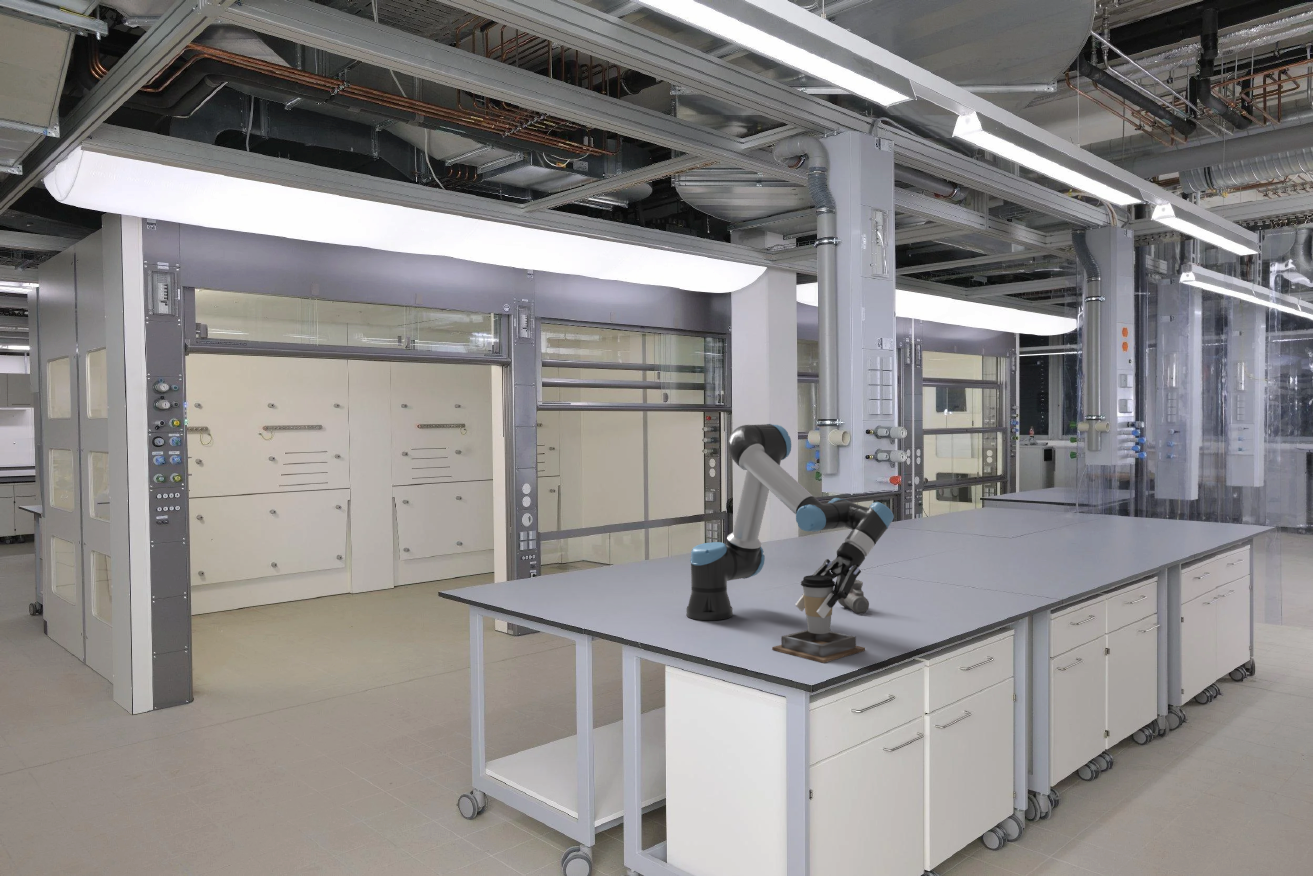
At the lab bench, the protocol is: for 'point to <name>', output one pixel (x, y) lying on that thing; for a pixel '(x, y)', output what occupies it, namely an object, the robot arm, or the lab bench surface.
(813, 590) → the coffee cup
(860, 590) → the pipe fitting
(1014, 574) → the lab bench surface
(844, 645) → the square rimmed tray
